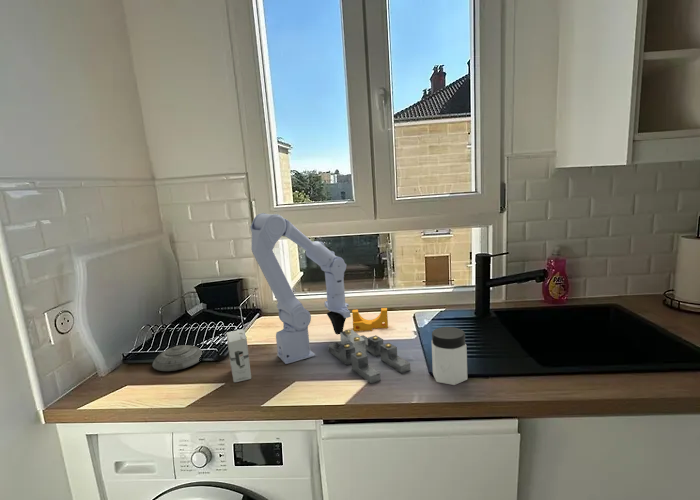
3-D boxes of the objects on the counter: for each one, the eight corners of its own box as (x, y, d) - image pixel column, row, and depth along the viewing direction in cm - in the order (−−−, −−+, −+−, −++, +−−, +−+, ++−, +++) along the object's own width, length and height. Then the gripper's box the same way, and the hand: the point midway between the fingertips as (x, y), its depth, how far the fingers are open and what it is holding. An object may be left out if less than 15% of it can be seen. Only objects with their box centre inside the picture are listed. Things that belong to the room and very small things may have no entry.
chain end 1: (346, 365, 118) (345, 348, 117) (328, 351, 128) (327, 336, 127) (384, 353, 123) (383, 338, 123) (363, 341, 134) (362, 326, 133)
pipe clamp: (353, 331, 143) (352, 313, 142) (353, 327, 147) (352, 309, 146) (388, 330, 142) (387, 311, 141) (387, 325, 147) (386, 307, 145)
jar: (427, 381, 106) (425, 336, 103) (437, 367, 112) (436, 325, 110) (463, 387, 101) (461, 341, 99) (471, 373, 108) (470, 329, 106)
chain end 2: (370, 383, 106) (369, 365, 105) (351, 369, 115) (350, 352, 114) (410, 370, 112) (409, 352, 111) (389, 357, 121) (388, 341, 120)
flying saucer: (207, 350, 137) (205, 334, 136) (202, 370, 122) (199, 352, 121) (159, 357, 134) (156, 341, 133) (147, 378, 119) (144, 360, 118)
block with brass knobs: (353, 359, 122) (352, 341, 121) (341, 347, 131) (340, 330, 130) (366, 355, 123) (365, 338, 122) (353, 344, 132) (351, 327, 131)
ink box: (230, 370, 120) (225, 331, 118) (247, 366, 122) (243, 328, 120) (233, 383, 112) (228, 342, 110) (252, 379, 114) (246, 338, 112)
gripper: (357, 295, 128) (360, 337, 130) (336, 286, 141) (339, 324, 143) (337, 299, 125) (340, 342, 127) (317, 290, 137) (321, 329, 140)
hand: (338, 333), depth 135 cm, fingers closed
